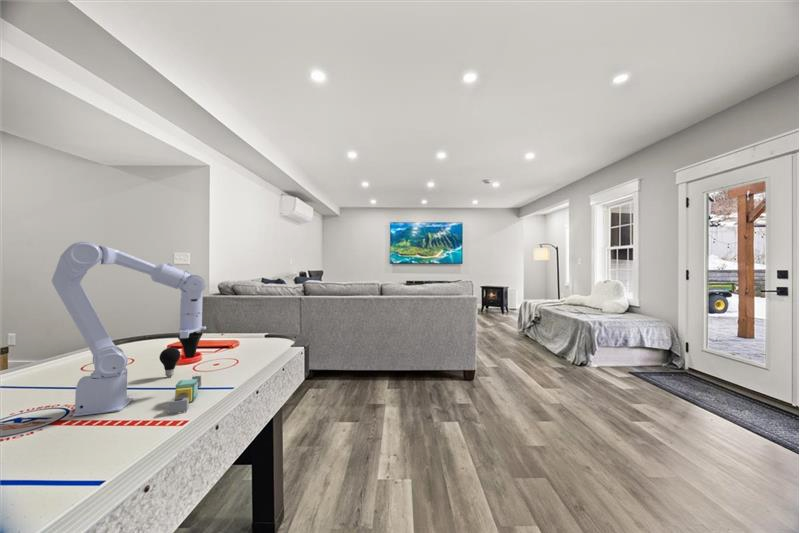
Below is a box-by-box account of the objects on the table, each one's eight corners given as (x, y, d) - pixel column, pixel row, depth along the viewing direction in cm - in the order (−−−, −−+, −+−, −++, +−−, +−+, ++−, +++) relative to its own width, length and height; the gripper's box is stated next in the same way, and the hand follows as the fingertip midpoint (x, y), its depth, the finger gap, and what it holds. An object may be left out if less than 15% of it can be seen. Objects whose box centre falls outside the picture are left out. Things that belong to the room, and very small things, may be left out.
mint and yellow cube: (175, 402, 85) (175, 385, 85) (179, 397, 89) (180, 380, 89) (194, 400, 87) (194, 383, 87) (197, 395, 91) (197, 378, 91)
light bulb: (184, 374, 110) (184, 346, 111) (170, 380, 105) (171, 350, 105) (168, 373, 111) (169, 345, 111) (154, 379, 105) (155, 349, 105)
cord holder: (186, 411, 81) (187, 395, 81) (168, 414, 79) (168, 397, 79) (204, 385, 100) (204, 371, 100) (189, 386, 99) (190, 372, 99)
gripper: (200, 315, 91) (199, 362, 91) (211, 310, 105) (210, 350, 105) (171, 316, 89) (170, 364, 89) (186, 311, 103) (185, 352, 102)
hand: (190, 357), depth 96 cm, fingers closed
